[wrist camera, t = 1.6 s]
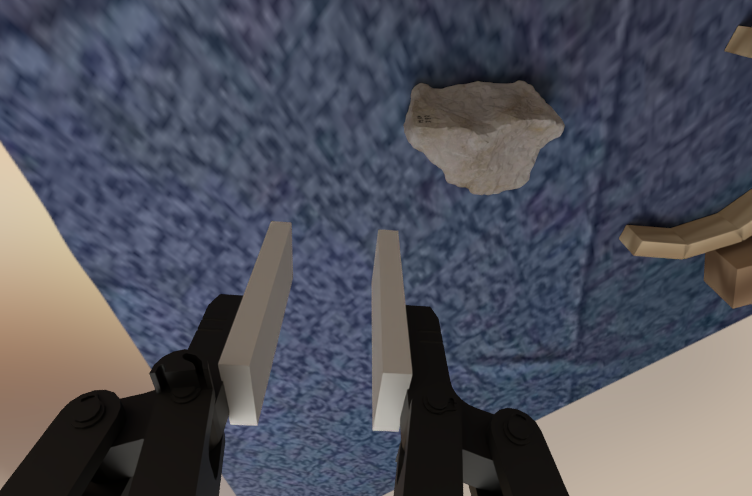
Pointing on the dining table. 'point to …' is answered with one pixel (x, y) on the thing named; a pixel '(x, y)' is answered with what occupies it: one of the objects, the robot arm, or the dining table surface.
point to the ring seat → (705, 233)
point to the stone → (481, 132)
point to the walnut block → (731, 272)
